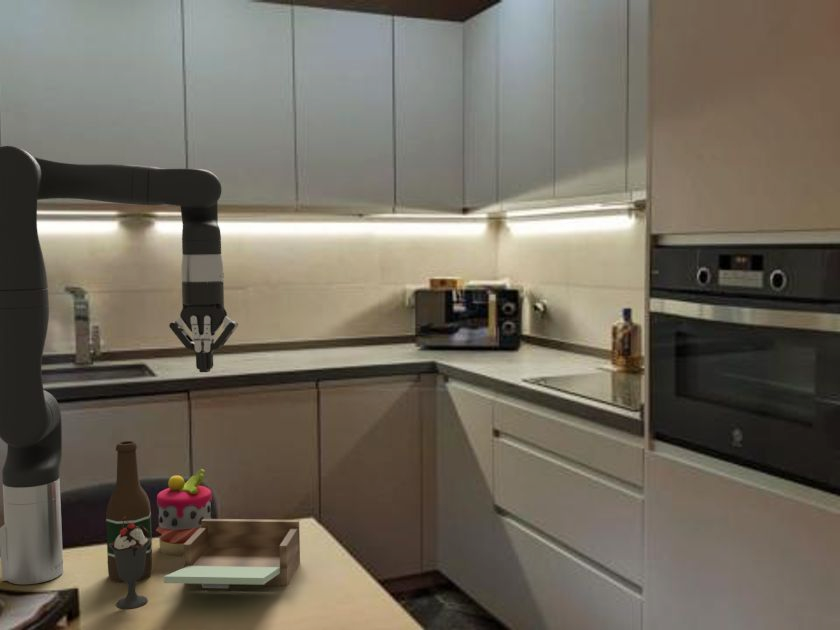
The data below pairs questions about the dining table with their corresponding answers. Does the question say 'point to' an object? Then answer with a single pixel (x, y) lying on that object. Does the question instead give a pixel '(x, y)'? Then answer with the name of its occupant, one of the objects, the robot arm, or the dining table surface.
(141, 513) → the beer bottle
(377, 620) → the dining table surface
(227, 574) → the pale green panel
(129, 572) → the sundae
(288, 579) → the wooden box
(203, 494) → the cake
